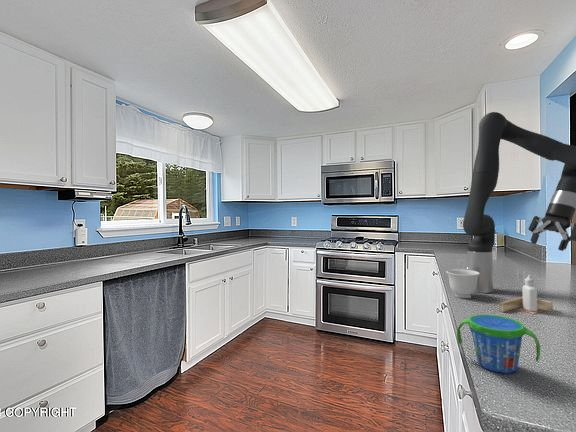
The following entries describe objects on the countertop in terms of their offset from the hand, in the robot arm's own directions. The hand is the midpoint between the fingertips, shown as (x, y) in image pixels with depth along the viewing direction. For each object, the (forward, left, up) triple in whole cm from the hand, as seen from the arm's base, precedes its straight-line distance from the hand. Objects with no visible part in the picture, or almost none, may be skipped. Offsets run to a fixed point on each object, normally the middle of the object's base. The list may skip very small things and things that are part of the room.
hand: (546, 246), depth 111 cm
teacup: (-23, -15, -21) cm, 35 cm away
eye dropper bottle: (0, -13, -21) cm, 25 cm away
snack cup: (+16, -63, -21) cm, 68 cm away
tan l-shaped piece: (0, -16, -21) cm, 26 cm away
